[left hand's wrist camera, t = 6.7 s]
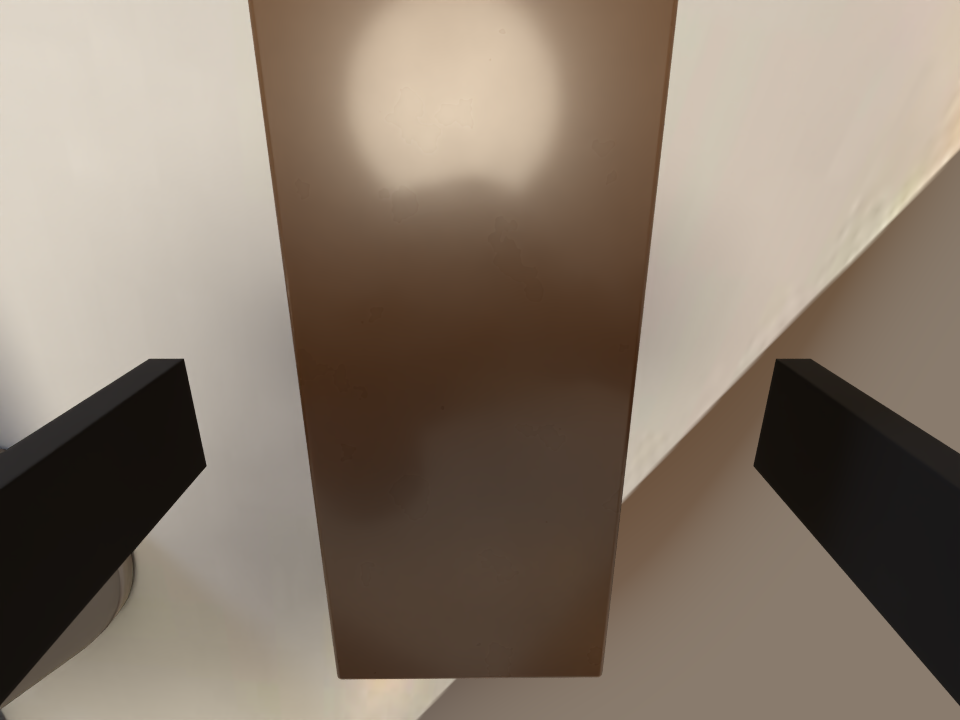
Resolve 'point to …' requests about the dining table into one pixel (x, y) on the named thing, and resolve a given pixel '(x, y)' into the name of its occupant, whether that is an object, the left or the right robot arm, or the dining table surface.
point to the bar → (466, 312)
